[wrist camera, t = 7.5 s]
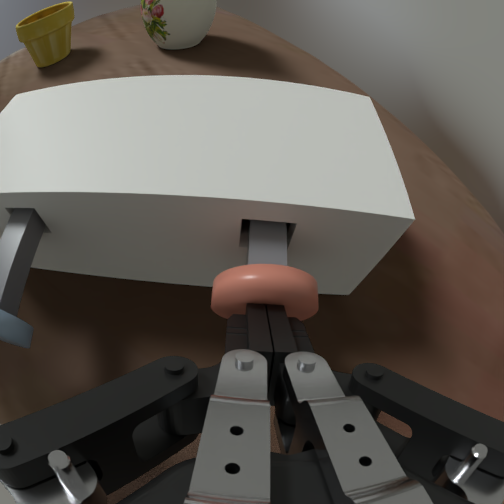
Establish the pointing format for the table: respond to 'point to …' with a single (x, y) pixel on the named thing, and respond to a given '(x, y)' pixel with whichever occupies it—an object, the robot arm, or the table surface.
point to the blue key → (17, 272)
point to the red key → (265, 277)
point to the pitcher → (177, 21)
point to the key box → (201, 177)
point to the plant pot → (47, 33)
